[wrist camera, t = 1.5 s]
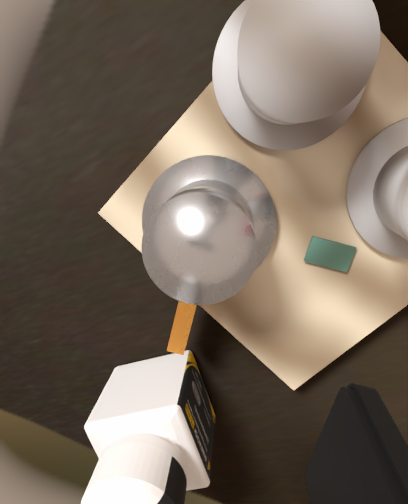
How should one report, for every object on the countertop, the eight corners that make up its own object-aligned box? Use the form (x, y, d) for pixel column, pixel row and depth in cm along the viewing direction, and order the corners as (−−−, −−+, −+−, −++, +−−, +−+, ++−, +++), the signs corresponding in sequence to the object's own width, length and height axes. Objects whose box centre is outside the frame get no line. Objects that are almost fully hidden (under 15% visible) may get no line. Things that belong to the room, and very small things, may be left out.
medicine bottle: (216, 415, 33) (205, 566, 21) (142, 430, 34) (93, 579, 23) (191, 347, 31) (164, 472, 19) (114, 365, 32) (45, 492, 21)
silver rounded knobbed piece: (157, 139, 24) (129, 141, 18) (292, 174, 24) (312, 188, 18) (123, 319, 28) (90, 372, 22) (237, 349, 28) (237, 411, 22)
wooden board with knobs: (301, -55, 22) (338, -167, 14) (518, 199, 25) (652, 230, 17) (92, 193, 28) (30, 218, 19) (290, 374, 31) (309, 461, 23)
